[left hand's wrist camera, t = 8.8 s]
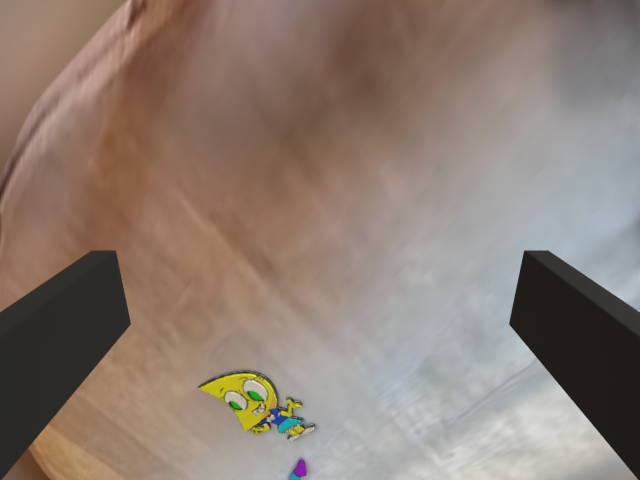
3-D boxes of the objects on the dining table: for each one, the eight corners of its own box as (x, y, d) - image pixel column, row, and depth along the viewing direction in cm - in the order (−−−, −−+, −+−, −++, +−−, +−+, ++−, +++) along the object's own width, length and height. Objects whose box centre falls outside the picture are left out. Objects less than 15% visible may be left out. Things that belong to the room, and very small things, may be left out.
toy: (263, 457, 56) (195, 391, 52) (264, 452, 57) (197, 386, 52) (320, 427, 54) (254, 356, 49) (320, 423, 55) (255, 352, 50)
